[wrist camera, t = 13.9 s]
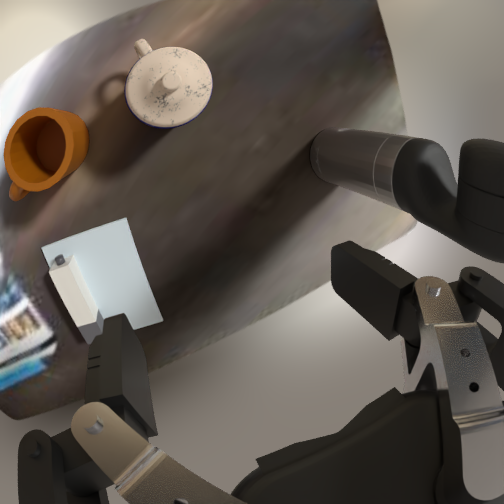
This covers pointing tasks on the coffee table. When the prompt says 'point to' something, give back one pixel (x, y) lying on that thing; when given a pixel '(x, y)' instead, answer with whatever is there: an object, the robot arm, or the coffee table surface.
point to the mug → (44, 149)
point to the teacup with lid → (167, 86)
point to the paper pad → (111, 271)
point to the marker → (77, 296)
